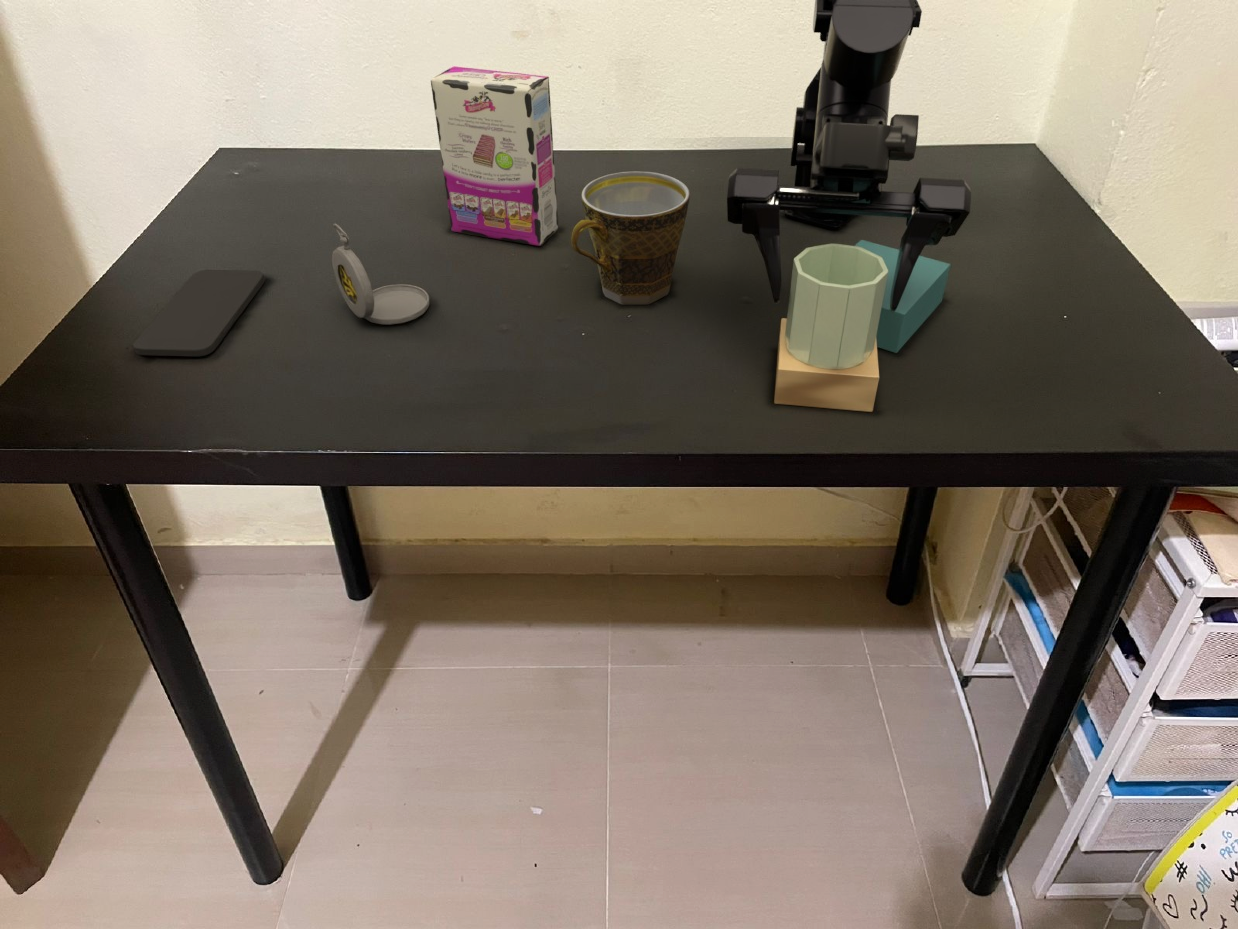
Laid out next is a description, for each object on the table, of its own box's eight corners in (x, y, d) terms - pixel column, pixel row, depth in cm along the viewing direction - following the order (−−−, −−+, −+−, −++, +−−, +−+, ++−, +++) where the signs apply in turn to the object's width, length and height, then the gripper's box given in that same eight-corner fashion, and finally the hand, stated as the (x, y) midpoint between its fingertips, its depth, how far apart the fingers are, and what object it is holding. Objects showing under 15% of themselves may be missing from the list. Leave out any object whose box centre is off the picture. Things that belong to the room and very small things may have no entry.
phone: (267, 270, 95) (208, 350, 84) (269, 277, 96) (210, 358, 84) (196, 269, 96) (127, 348, 84) (198, 276, 96) (130, 356, 85)
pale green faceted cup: (769, 352, 78) (778, 271, 73) (810, 314, 82) (820, 235, 77) (848, 380, 75) (862, 296, 70) (885, 339, 79) (901, 258, 74)
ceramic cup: (635, 255, 99) (635, 162, 92) (707, 288, 93) (712, 191, 87) (541, 300, 92) (534, 203, 85) (613, 339, 86) (611, 238, 80)
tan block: (773, 404, 78) (778, 368, 76) (777, 351, 84) (781, 317, 82) (872, 412, 77) (879, 377, 75) (869, 358, 83) (875, 324, 81)
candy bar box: (560, 228, 104) (552, 74, 93) (540, 248, 100) (529, 90, 90) (471, 213, 107) (453, 62, 96) (448, 231, 103) (427, 77, 93)
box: (805, 323, 88) (810, 285, 85) (855, 275, 95) (861, 239, 92) (896, 353, 84) (904, 314, 81) (942, 301, 91) (950, 263, 88)
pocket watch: (442, 298, 92) (427, 202, 86) (399, 343, 86) (380, 242, 80) (369, 286, 94) (349, 191, 88) (322, 328, 88) (297, 229, 82)
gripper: (736, 63, 70) (715, 267, 69) (997, 73, 68) (980, 285, 66) (737, 130, 81) (719, 307, 80) (961, 141, 79) (946, 324, 77)
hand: (834, 305), depth 76 cm, fingers open, 9 cm apart
